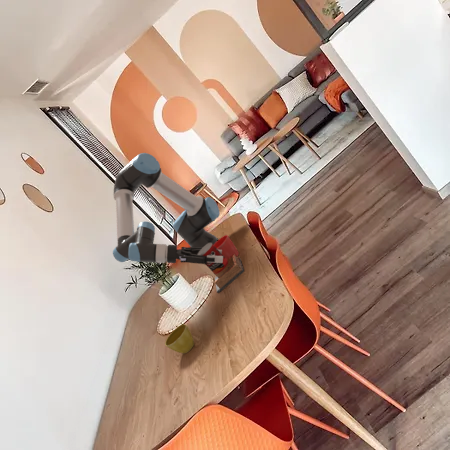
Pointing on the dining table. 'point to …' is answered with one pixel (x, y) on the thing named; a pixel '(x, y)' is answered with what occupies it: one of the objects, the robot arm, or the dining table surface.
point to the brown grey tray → (229, 273)
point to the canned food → (213, 251)
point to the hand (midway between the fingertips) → (222, 256)
